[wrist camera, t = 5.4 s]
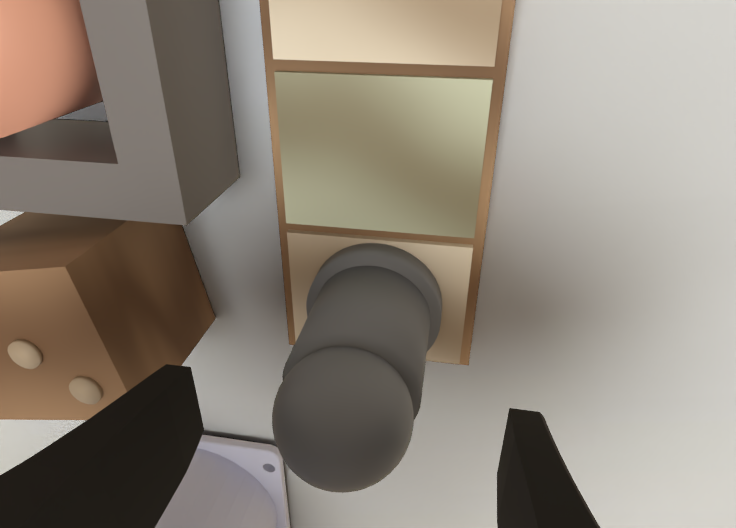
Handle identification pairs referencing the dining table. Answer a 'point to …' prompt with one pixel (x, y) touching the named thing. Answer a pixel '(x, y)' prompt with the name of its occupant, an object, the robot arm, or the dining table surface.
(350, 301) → the pawn
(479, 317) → the dining table surface
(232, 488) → the robot arm
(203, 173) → the frame
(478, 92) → the track board
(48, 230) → the die
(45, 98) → the plunger
